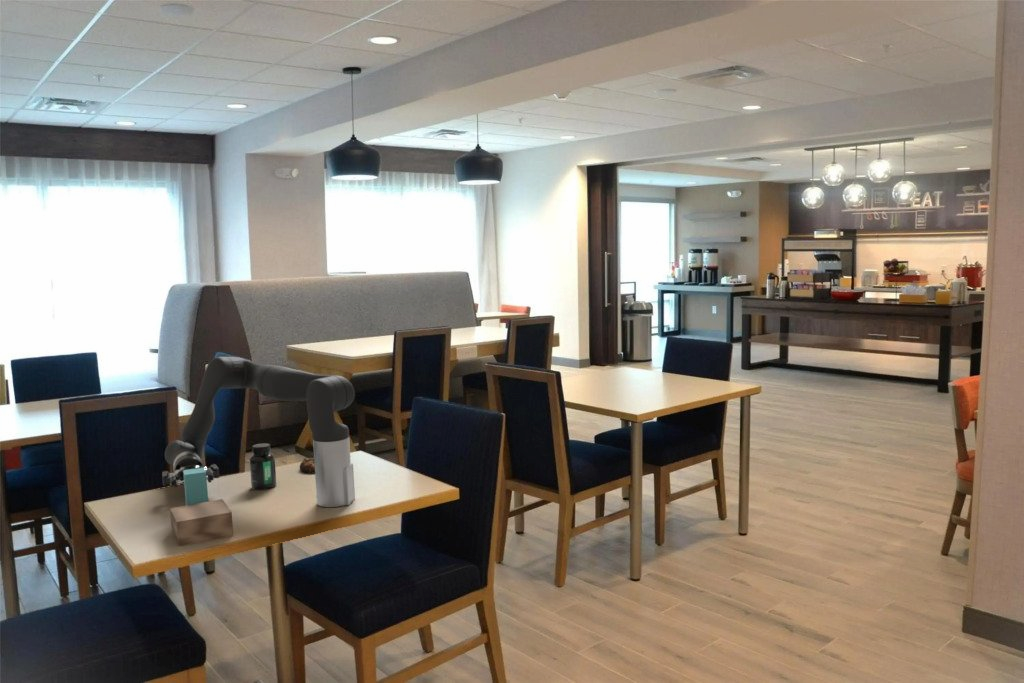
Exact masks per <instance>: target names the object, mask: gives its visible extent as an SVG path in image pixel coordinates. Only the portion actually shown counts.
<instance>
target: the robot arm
mask: <svg viewBox="0 0 1024 683" xmlns="http://www.w3.org/2000/svg"><path fill="white" fill-rule="evenodd" d="M221 389H222V390H223V389H224V390H225V389H227V390H228V389H253V390H256V391H257V392H258V393H259V394H260V395H261V396H263V397H265V398H268V399H272V400H276V401H282V402H300V401H301V402H304V401H306V409H307V415H308V416H307V417H308V426H309V429H310V432H311V433H312V444H313V445H312V446H313V455H314V463H315V473H314V477H315V490H316V491H315V492H316V505H317V506H319V507H324V508H336V507H341V506H343V507H344V506H350V505H351V504H352V502H353V501H354V500H355V499H356V492H355V488H356V487H355V473H354V463H351V448H350V444H351V443H350V430H349V427H348V425H346V424H343V423H339V422H337V421H336V418H335V413H334V412H338V411H342V410H344V409H346V408H347V407H348V408H349V407H350V406H351V404H353V402H354V400H355V397H356V393H355V388H354V386H353V384H352V382H351V381H349V380H348V378H346V377H345V376H342V375H333V374H319V373H318V374H316V373H312V372H308V371H304V370H300V369H294V368H291V367H288V366H283V365H282V366H281V365H275V364H261V363H257V362H254V361H251V360H248V359H246V358H243V357H239V356H216V357H214V358H212V359H211V360H210V361H209V363H208V364H207V366H206V368H205V370H204V374H203V376H202V380H201V383H200V388H199V390H198V395H197V398H196V401H195V403H194V404H195V405H194V407H193V409H192V412H191V414H190V416H189V417H188V420H187V422H186V424H185V425H184V428H183V429H182V431H181V432H182V433H181V436H182V438H183V440H184V441H182V440H179V439H175V440H172V441H171V442H169V443H168V444H167V446H166V448H165V451H164V459H165V462H166V463H167V464H168V465H170V466H171V467H173V472H170V471H168V470H163V471H162V472H161V473H162V474H161V475H162V477H161V479H162V486H168V485H170V487H173V488H177V487H178V485H180V484H184V476H183V470H189V469H196V468H203V467H204V468H205V471H206V478H207V483H212V481H214V478H215V479H219V478H220V469H219V468H220V467H218V466H217V464H215V463H212V464H211V465H210V466H209V467H207V466H204V465H203V462H202V460H203V455H204V448H205V443H206V440H207V438H208V436H209V434H210V433H211V431H212V428H214V427H213V426H214V424H215V421H216V411H215V405H214V401H215V400H214V399H215V397H216V395H217V394H218V392H219V391H220V390H221ZM177 484H178V485H177Z"/></svg>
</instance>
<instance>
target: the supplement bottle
mask: <svg viewBox="0 0 1024 683" xmlns="http://www.w3.org/2000/svg"><path fill="white" fill-rule="evenodd" d="M251 448H252V450H251V452H252V453H253V454H252V455H251V456H250V457H249V471H250V485H251V489H253V490H256V491H257V490H258V491H259V490H260V491H264V490H269V489H272V488H275V487H276V486H277V472H276V471H277V470H276V468H277V467H276V459H275V458H276V456H275V455H274V454H273V453H272V452H271V451H272V449H271V444H270V443H266V442H265V443H263V442H262V443H257V444H254V445H252V447H251Z"/></svg>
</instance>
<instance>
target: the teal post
mask: <svg viewBox="0 0 1024 683" xmlns="http://www.w3.org/2000/svg"><path fill="white" fill-rule="evenodd" d="M204 467H205V466H204ZM204 467H203V468H196V469H189V470H183V476H184V483H183V488H184V498H185V499H184V500H185V506H186V505H191V504H197V503H203V502H209V492H208V480H207V478H206V471H205V468H204Z"/></svg>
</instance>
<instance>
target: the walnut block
mask: <svg viewBox="0 0 1024 683" xmlns="http://www.w3.org/2000/svg"><path fill="white" fill-rule="evenodd" d="M169 511H170V512H169V513H170V524H171V532H172V535H173V536H174V538H175V539H174V540H175V541H176V543H177V545H178V547H183V546H187V545H192V544H193V545H195V544H198V543H203V542H208V541H213V540H218V539H222V538H223V539H224V538H229V537H234V536H233V535H234V526H233V511H231V509H230V508H229V506H228V505H227V503H226V502H225V500H224V499H223V498H221V499H216V500H211V501H210V500H208V502H203V503H197V504H191V505H186V504H185V505H181V506H175V507H171V508H169Z"/></svg>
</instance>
